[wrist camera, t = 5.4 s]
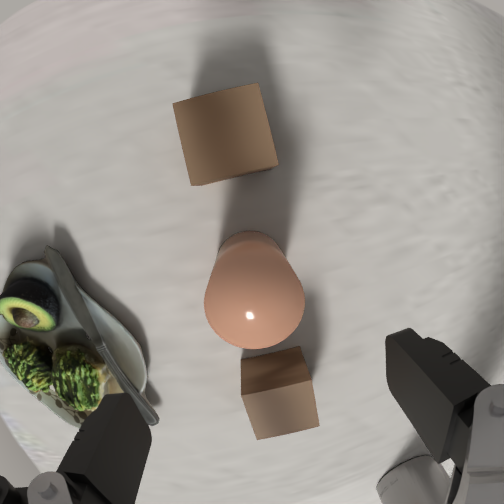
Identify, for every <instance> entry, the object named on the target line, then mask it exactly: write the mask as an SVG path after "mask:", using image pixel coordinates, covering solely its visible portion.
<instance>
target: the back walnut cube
mask: <svg viewBox="0 0 504 504" xmlns="http://www.w3.org/2000/svg"><path fill="white" fill-rule="evenodd" d="M241 397H242V399H243V402H244V405H245V408H246V411H247V414H248V416H249V419H250V422H251V425H252V427H253V430H254V433H255V436H256V438H257V440H260V439H265V438H270V437H275V436H280V435H285V434H289V433H294V432H298V431H302V430H306V429H310V428H314V427H318V426H319V420H318V414H317V408H316V402H315V396H314V390H313V385H312V379H311V377H310V374H309V371H308V368H307V365H306V363H305V360H304V357H303V354H302V351H301V349H300V346H298V347H294V348H290V349H286V350H282V351H278V352H274V353H269V354H265V355H260V356H256V357H251V358H246V359H242V360H241Z"/></svg>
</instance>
